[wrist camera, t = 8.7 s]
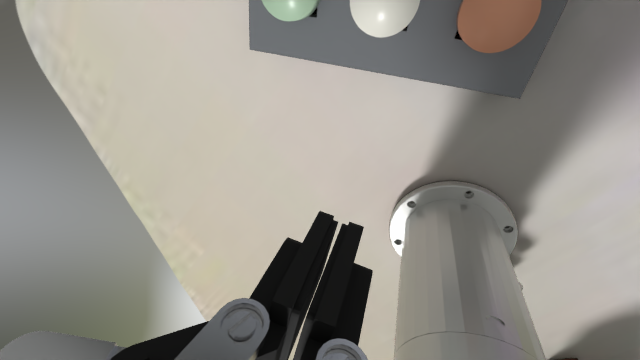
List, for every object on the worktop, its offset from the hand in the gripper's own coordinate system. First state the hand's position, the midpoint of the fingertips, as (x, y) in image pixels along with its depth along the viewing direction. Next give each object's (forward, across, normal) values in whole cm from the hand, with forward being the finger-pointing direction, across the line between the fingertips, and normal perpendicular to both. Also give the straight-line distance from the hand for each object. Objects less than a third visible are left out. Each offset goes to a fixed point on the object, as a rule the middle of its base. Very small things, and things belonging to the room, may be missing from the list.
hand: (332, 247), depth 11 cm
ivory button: (+18, +2, -8) cm, 20 cm away
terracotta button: (+20, -5, -9) cm, 22 cm away
